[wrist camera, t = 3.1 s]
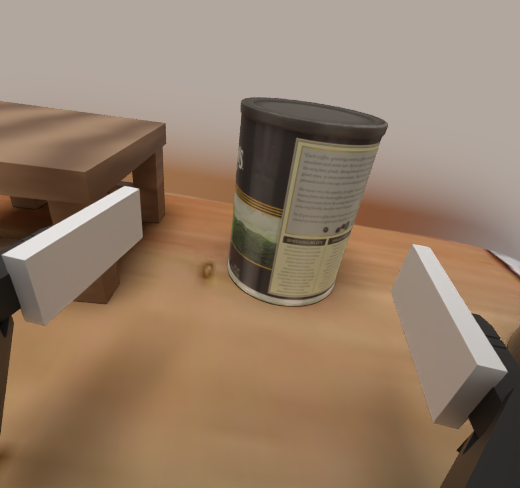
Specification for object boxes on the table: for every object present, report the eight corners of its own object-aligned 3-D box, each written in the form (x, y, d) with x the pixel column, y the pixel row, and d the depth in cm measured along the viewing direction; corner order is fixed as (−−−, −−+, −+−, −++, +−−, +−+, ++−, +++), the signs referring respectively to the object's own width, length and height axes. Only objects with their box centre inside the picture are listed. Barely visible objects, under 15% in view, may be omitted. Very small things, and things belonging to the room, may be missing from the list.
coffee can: (207, 285, 25) (216, 101, 18) (248, 233, 34) (265, 94, 27) (329, 323, 23) (394, 133, 16) (340, 257, 32) (385, 114, 25)
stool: (168, 213, 35) (165, 123, 30) (108, 307, 22) (85, 172, 17) (27, 196, 35) (-1, 101, 29) (-129, 284, 21) (-231, 133, 16)
